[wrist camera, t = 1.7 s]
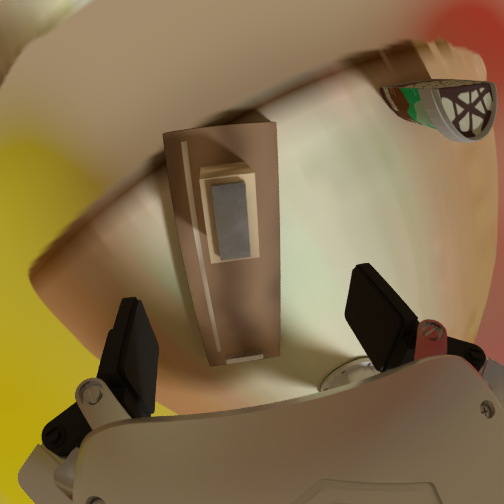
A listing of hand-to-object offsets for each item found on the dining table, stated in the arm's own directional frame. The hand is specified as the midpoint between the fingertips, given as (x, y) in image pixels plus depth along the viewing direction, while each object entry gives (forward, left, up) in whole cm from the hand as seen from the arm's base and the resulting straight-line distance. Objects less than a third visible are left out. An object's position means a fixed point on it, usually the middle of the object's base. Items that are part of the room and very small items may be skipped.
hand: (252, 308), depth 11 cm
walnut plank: (0, +8, -18) cm, 19 cm away
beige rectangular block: (0, 0, -16) cm, 16 cm away
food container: (-23, -10, -18) cm, 31 cm away
